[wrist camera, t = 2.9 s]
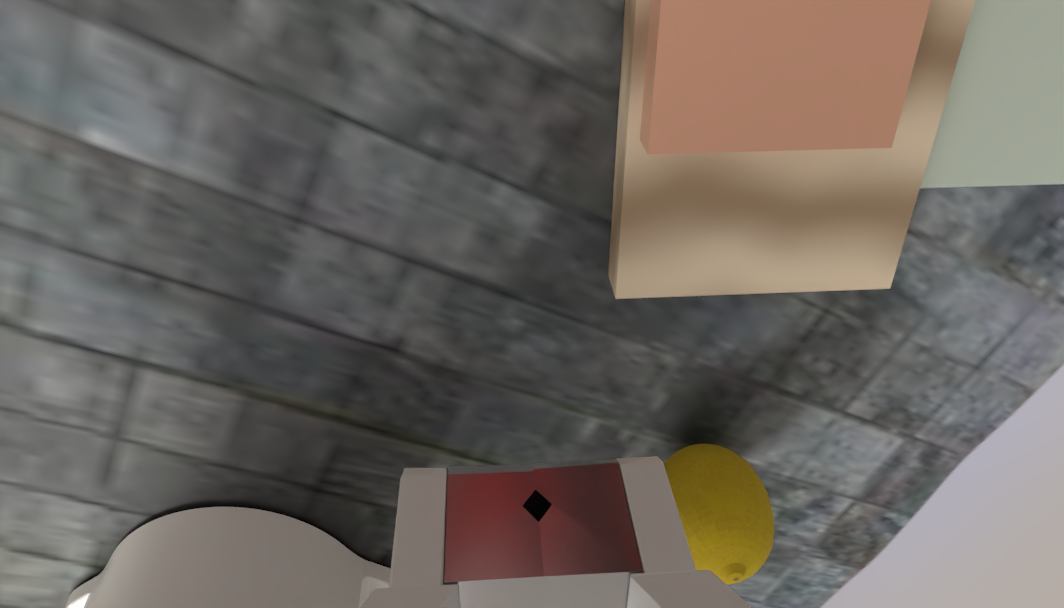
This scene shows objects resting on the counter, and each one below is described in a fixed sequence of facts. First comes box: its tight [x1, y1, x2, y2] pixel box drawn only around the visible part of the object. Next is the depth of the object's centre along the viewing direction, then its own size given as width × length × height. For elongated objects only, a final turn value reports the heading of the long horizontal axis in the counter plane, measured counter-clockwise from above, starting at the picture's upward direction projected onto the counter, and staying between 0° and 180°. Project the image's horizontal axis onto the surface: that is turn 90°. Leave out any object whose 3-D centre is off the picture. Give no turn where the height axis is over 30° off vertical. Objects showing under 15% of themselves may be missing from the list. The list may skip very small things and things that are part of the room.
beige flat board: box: [608, 0, 976, 299], centre depth 28 cm, size 20×12×2 cm, turn 0°
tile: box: [640, 0, 931, 154], centre depth 26 cm, size 6×9×2 cm, turn 90°
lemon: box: [664, 444, 774, 585], centre depth 36 cm, size 6×6×8 cm
